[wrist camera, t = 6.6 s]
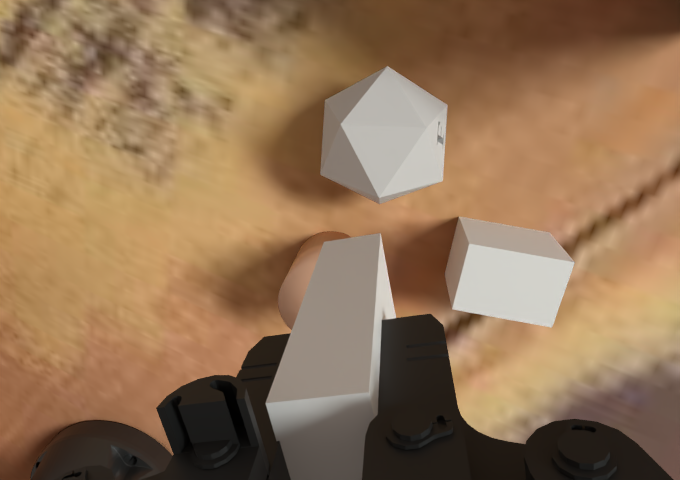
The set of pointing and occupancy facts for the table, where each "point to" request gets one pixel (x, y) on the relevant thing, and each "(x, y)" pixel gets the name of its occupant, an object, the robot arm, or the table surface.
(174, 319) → the table surface
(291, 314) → the beige rounded smooth part
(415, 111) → the die
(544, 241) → the grey block
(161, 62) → the table surface
